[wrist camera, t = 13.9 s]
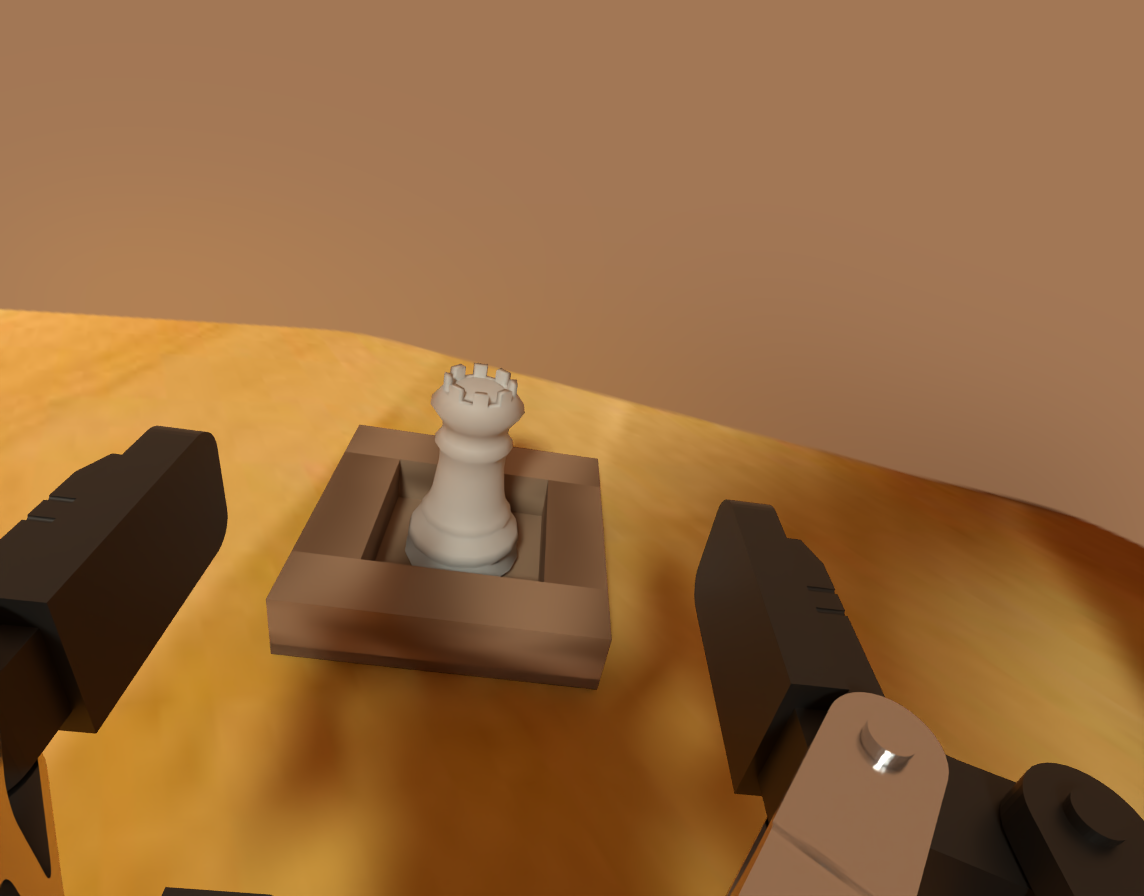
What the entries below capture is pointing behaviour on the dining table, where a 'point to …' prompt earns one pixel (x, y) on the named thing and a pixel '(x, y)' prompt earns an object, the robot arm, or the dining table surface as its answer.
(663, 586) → the dining table surface
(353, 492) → the square tray
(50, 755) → the dining table surface
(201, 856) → the dining table surface
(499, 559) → the rook chess piece
